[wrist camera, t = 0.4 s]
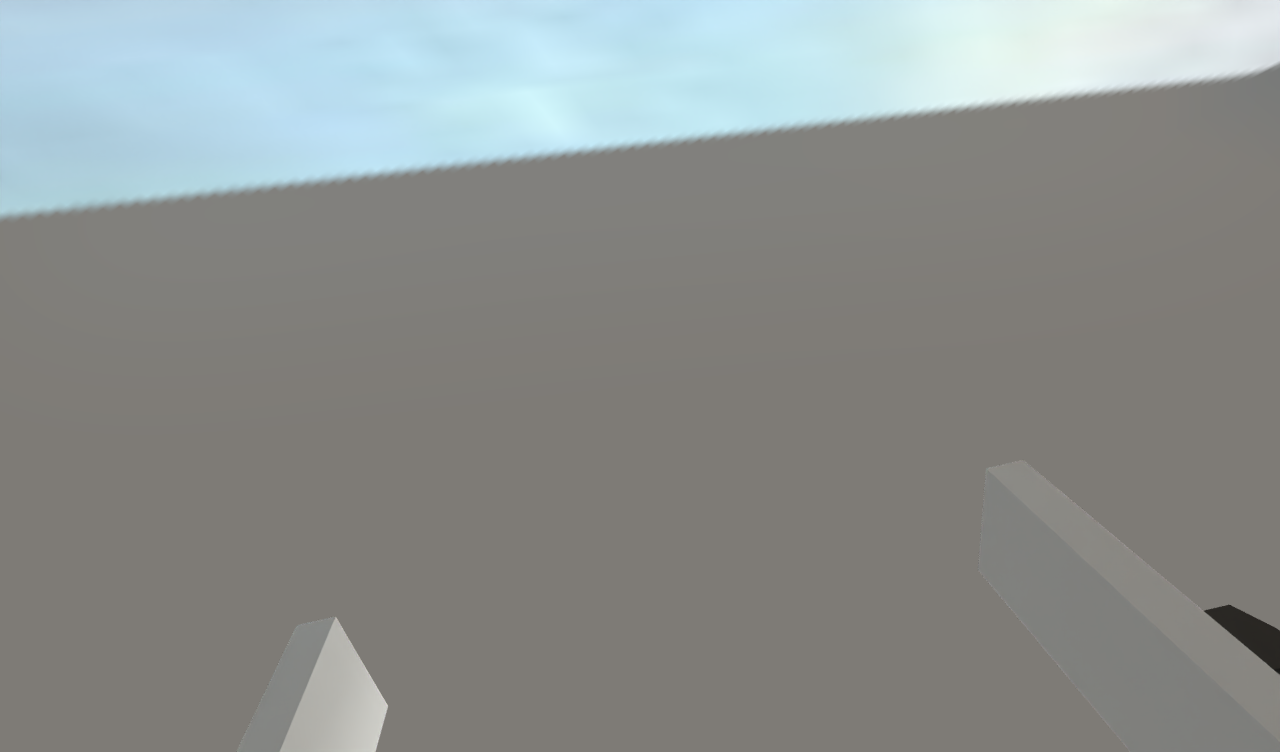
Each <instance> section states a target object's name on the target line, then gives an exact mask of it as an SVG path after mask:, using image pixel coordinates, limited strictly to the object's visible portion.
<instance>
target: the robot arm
mask: <svg viewBox="0 0 1280 752" xmlns="http://www.w3.org/2000/svg"><path fill="white" fill-rule="evenodd" d="M978 571H979V572H980V573H981V574H982V576H983V577H984V578H985V579H986V580H987V582H988V583H989V584H990V585H991V586H992V588H993V589H994V590H995V591H996V592H997V594H998V595H999V596H1000V597H1001V598H1002V599H1003V601H1004V602H1005V603H1006V604H1007V605H1008V607H1009V608H1010V609H1011V610H1012V611H1013V613H1014V614H1015V615H1016V616H1017V617H1018V618H1019V620H1020V621H1021V622H1022V623H1023V624H1024V626H1025V627H1026V628H1027V629H1028V631H1029V632H1030V633H1031V634H1032V635H1033V637H1034V638H1035V639H1036V640H1037V641H1038V642H1039V644H1040V645H1041V646H1042V647H1043V648H1044V650H1045V651H1046V652H1047V653H1048V654H1049V656H1050V657H1051V658H1052V659H1053V660H1054V662H1055V663H1056V664H1057V665H1058V666H1059V667H1060V669H1061V670H1062V671H1063V672H1064V674H1065V675H1066V676H1067V677H1068V678H1069V679H1070V681H1071V682H1072V683H1073V684H1074V685H1075V686H1076V688H1077V689H1078V690H1079V691H1080V692H1081V694H1082V695H1083V696H1084V697H1085V699H1086V700H1087V701H1088V702H1089V703H1090V705H1091V706H1092V707H1093V708H1094V709H1095V710H1096V712H1097V713H1098V714H1099V715H1100V716H1101V718H1102V719H1103V720H1104V721H1105V722H1106V724H1107V725H1108V726H1109V727H1110V728H1111V730H1112V731H1113V732H1114V733H1115V734H1116V736H1117V737H1118V738H1119V739H1120V740H1121V742H1122V743H1123V744H1124V745H1125V746H1126V747H1127V749H1128V750H1129V751H1130V752H1280V631H1279V630H1278V629H1276V628H1275V627H1273V626H1271V625H1269V624H1267V623H1265V622H1263V621H1261V620H1258V619H1257V618H1255V617H1253V616H1251V615H1249V614H1246V613H1245V612H1243V611H1241V610H1239V609H1237V608H1235V607H1233V606H1231V605H1226V606H1222V607H1218V608H1213V609H1209V610H1205V611H1203V610H1202V609H1200V608H1199V607H1198V606H1197V605H1196V604H1194V603H1193V602H1192V601H1191V600H1190V599H1189V598H1187V597H1186V596H1185V595H1184V594H1183V593H1181V592H1180V591H1179V590H1178V589H1177V588H1175V587H1174V586H1173V585H1172V584H1171V583H1169V582H1168V581H1167V580H1166V579H1165V578H1163V577H1162V576H1161V575H1160V574H1158V572H1156V571H1155V570H1154V569H1153V568H1152V567H1150V566H1149V565H1148V564H1147V563H1145V562H1144V561H1143V560H1142V559H1141V558H1140V557H1138V556H1137V555H1136V554H1135V553H1134V552H1132V551H1131V550H1130V549H1129V548H1128V547H1127V546H1125V545H1124V544H1123V543H1122V542H1121V541H1119V540H1118V539H1117V538H1116V537H1115V536H1113V535H1112V534H1111V533H1110V532H1108V531H1107V530H1106V529H1105V528H1104V527H1103V526H1101V525H1100V524H1099V523H1098V522H1097V521H1095V520H1094V519H1093V518H1092V517H1091V516H1090V515H1088V514H1087V513H1086V512H1085V511H1083V510H1082V509H1081V508H1080V507H1079V506H1077V505H1076V504H1075V503H1074V502H1073V501H1071V500H1070V499H1069V498H1068V497H1067V496H1066V495H1064V494H1063V493H1062V492H1061V491H1060V490H1058V489H1057V488H1056V487H1055V486H1054V485H1052V484H1051V483H1050V482H1049V481H1048V480H1047V479H1045V478H1044V477H1043V476H1042V475H1041V474H1039V473H1038V472H1037V471H1036V470H1035V469H1033V468H1032V467H1031V466H1030V465H1029V464H1027V463H1026V462H1025V461H1024V460H1021V461H1017V462H1013V463H1008V464H1004V465H999V466H995V467H991V468H987V469H986V478H985V490H984V501H983V514H982V526H981V538H980V550H979V562H978ZM387 707H388V705H387V704H386V702H385V700H384V699H383V697H382V695H381V694H380V692H379V690H378V688H377V687H376V685H375V683H374V681H373V680H372V678H371V677H370V675H369V673H368V671H367V670H366V668H365V666H364V664H363V663H362V661H361V659H360V658H359V656H358V654H357V652H356V651H355V649H354V647H353V646H352V644H351V642H350V640H349V639H348V637H347V635H346V634H345V632H344V630H343V629H342V627H341V625H340V623H339V622H338V620H337V618H336V617H332V618H327V619H323V620H319V621H314V622H310V623H305V624H301V625H297V626H296V628H295V630H294V632H293V634H292V637H291V639H290V641H289V643H288V645H287V647H286V649H285V651H284V653H283V656H282V657H281V660H280V662H279V664H278V666H277V668H276V670H275V672H274V674H273V676H272V678H271V680H270V683H269V685H268V687H267V689H266V691H265V693H264V695H263V697H262V700H261V701H260V703H259V706H258V708H257V710H256V712H255V714H254V716H253V719H252V720H251V722H250V724H249V726H248V729H247V731H246V733H245V735H244V737H243V739H242V741H241V743H240V746H239V748H238V750H237V752H375V751H376V747H377V744H378V740H379V737H380V733H381V729H382V725H383V722H384V718H385V715H386V711H387Z"/></svg>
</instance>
